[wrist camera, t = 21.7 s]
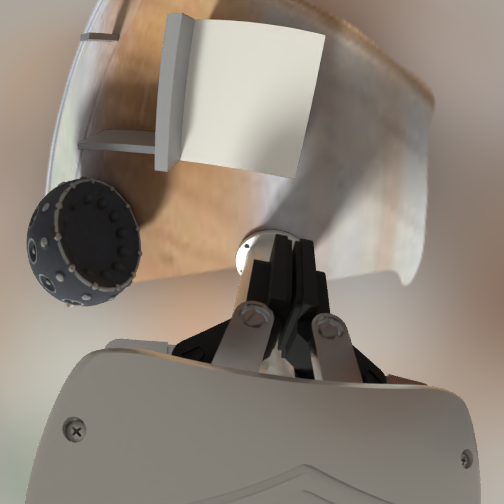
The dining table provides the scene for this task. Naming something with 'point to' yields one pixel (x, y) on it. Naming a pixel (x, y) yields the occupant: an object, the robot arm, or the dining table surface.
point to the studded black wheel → (84, 242)
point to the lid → (235, 94)
